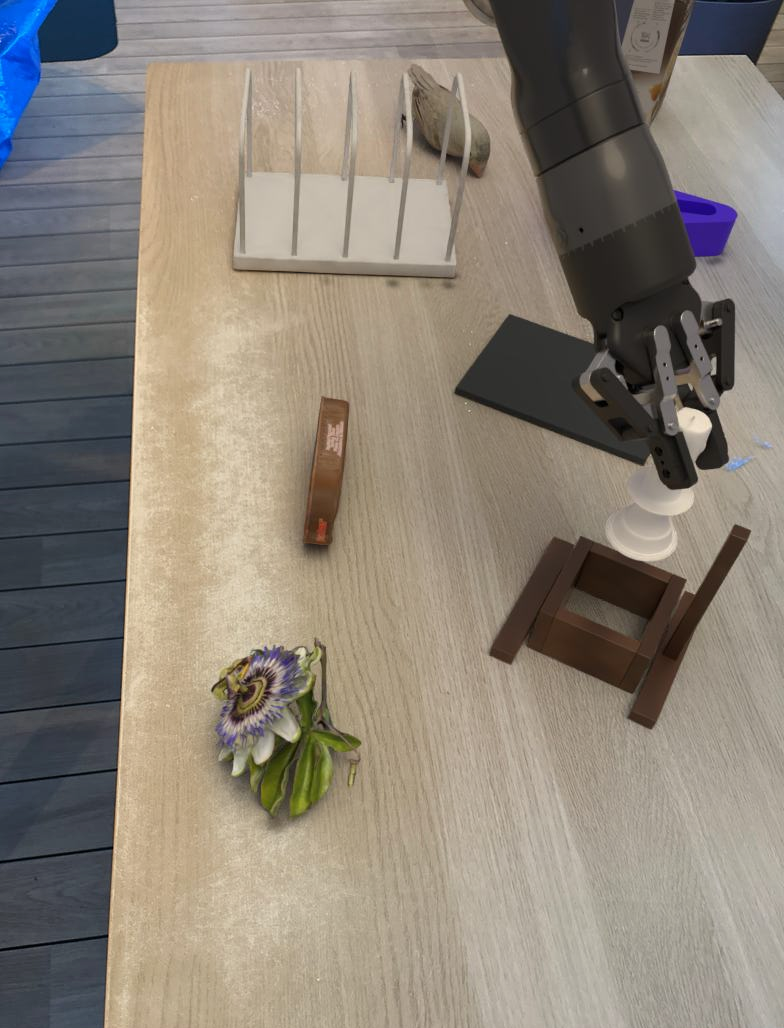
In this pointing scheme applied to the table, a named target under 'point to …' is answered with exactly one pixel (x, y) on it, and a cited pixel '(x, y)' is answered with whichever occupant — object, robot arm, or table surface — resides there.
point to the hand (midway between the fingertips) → (698, 475)
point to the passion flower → (280, 726)
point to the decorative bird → (432, 118)
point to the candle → (656, 501)
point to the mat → (543, 384)
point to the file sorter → (348, 206)
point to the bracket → (706, 223)
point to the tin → (326, 471)
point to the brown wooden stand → (625, 588)
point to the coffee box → (654, 47)
